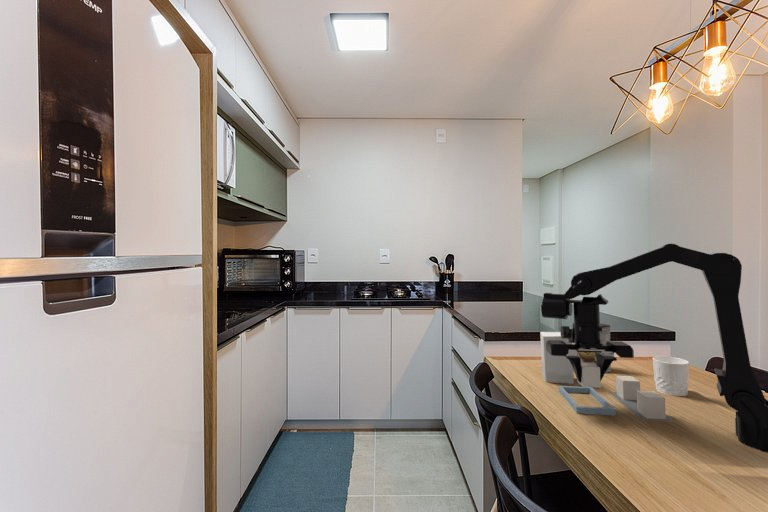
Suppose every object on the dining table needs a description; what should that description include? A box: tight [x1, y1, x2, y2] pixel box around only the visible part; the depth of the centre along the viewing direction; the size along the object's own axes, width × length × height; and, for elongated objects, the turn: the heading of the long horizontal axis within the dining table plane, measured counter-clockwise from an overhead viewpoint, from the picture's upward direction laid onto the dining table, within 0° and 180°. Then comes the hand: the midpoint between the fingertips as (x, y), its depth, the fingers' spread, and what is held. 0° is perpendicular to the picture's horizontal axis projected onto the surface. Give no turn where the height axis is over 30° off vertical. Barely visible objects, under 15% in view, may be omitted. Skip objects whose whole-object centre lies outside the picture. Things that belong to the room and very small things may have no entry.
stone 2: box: [615, 375, 641, 400], centre depth 94 cm, size 4×4×5 cm
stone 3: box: [637, 390, 667, 419], centre depth 83 cm, size 4×4×5 cm
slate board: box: [608, 391, 676, 423], centre depth 88 cm, size 17×7×1 cm, turn 169°
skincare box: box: [539, 331, 575, 385], centre depth 108 cm, size 8×7×16 cm
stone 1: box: [576, 362, 602, 389], centre depth 88 cm, size 4×4×5 cm
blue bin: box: [558, 385, 616, 416], centre depth 91 cm, size 15×9×3 cm, turn 169°
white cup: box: [652, 355, 690, 397], centre depth 97 cm, size 8×8×10 cm
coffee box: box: [577, 322, 612, 374], centre depth 121 cm, size 9×6×16 cm
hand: (588, 382), depth 88 cm, fingers closed on stone 1, 4 cm apart
